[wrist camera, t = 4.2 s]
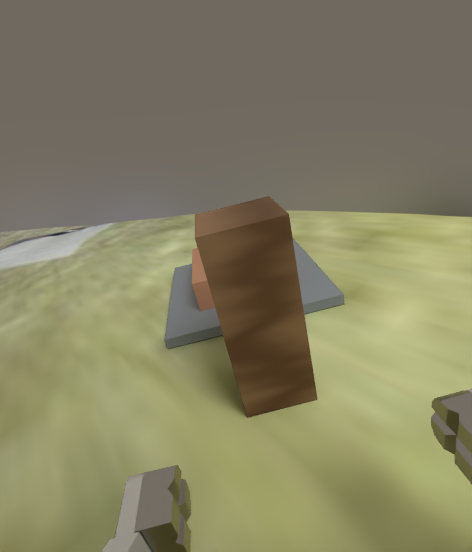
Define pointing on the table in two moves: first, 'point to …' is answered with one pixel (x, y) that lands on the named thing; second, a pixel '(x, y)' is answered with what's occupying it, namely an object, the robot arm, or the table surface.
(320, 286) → the housing
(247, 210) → the wooden post
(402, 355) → the table surface
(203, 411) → the table surface
